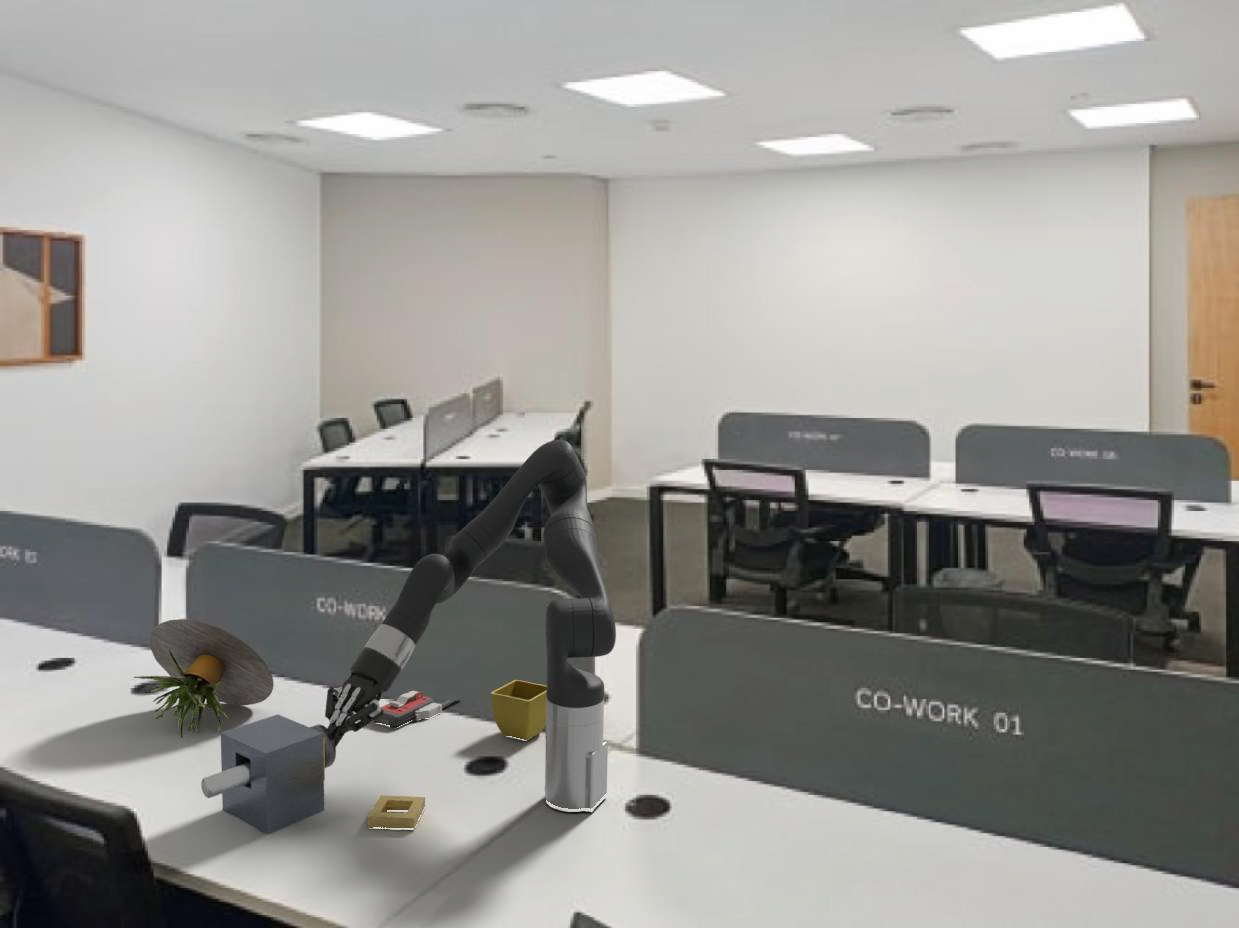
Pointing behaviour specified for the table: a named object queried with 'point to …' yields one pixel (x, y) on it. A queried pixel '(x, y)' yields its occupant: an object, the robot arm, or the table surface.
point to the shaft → (243, 772)
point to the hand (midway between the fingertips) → (324, 748)
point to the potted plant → (206, 669)
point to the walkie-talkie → (409, 709)
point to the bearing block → (275, 772)
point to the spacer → (396, 820)
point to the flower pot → (520, 709)
